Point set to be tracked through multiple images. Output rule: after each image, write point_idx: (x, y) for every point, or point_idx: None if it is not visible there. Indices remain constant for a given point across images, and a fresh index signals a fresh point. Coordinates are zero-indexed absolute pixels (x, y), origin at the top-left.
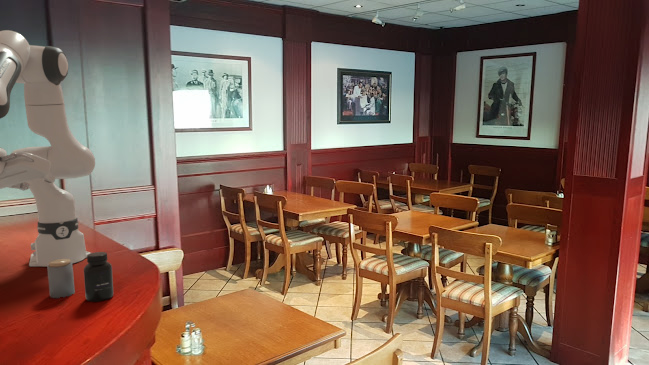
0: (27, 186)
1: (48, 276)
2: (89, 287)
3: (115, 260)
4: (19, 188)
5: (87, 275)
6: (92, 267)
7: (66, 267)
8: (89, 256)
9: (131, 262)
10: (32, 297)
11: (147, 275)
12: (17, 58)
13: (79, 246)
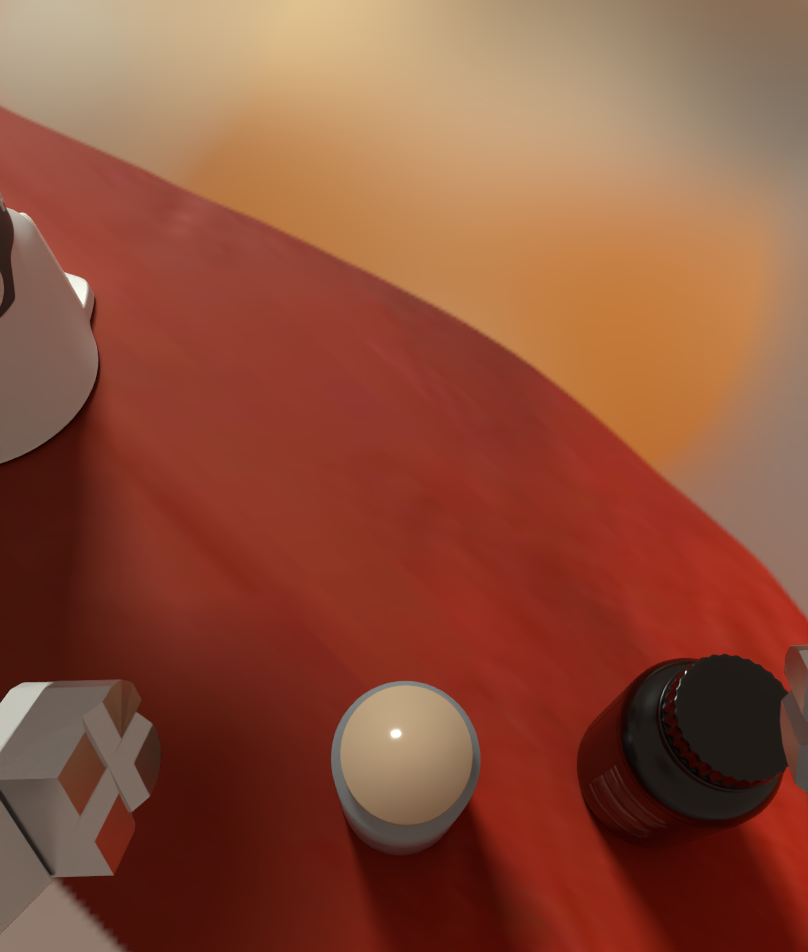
0: (126, 732)
1: (369, 834)
2: (684, 840)
3: (266, 319)
4: (38, 872)
5: (700, 830)
6: (744, 803)
7: (478, 774)
8: (742, 779)
9: (367, 326)
10: (273, 885)
11: (592, 452)
12: None
13: (58, 299)
